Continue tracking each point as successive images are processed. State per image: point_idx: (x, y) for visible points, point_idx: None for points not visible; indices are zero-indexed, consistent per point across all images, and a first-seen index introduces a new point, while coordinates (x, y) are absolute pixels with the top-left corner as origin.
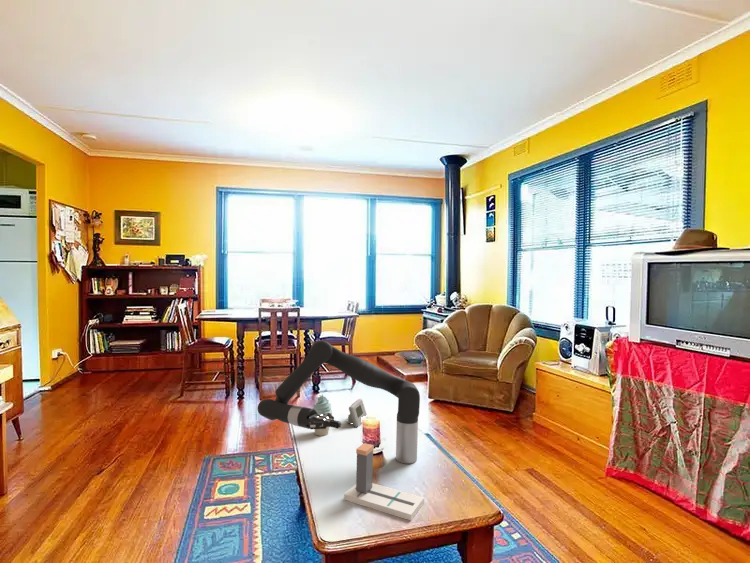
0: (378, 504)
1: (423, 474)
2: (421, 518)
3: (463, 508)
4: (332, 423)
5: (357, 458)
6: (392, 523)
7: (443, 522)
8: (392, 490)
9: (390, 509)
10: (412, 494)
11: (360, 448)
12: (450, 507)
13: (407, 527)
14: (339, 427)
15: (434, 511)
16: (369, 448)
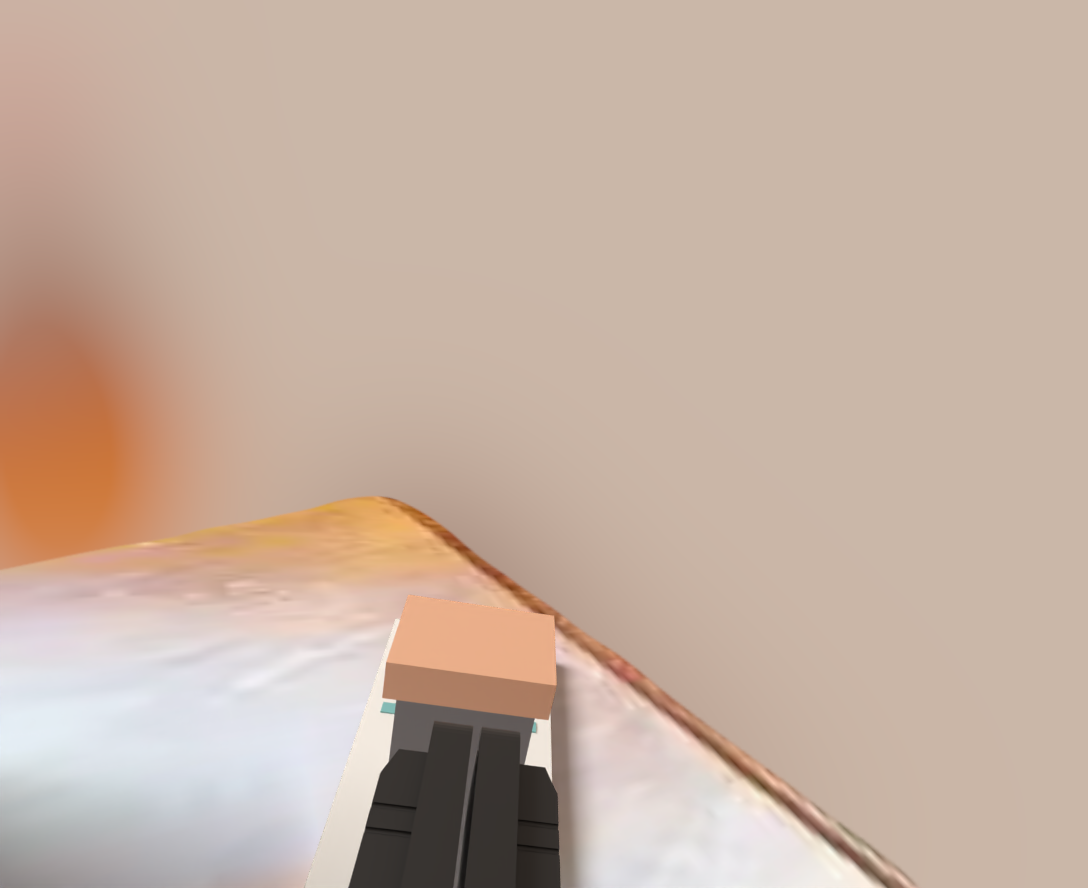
0: (550, 771)
1: (62, 672)
2: None
3: (384, 545)
4: (558, 869)
5: (526, 753)
6: (603, 714)
7: (497, 583)
8: (373, 743)
9: (550, 717)
10: (383, 657)
11: (527, 659)
12: (392, 571)
13: (592, 664)
14: (469, 795)
15: None
16: (488, 607)
